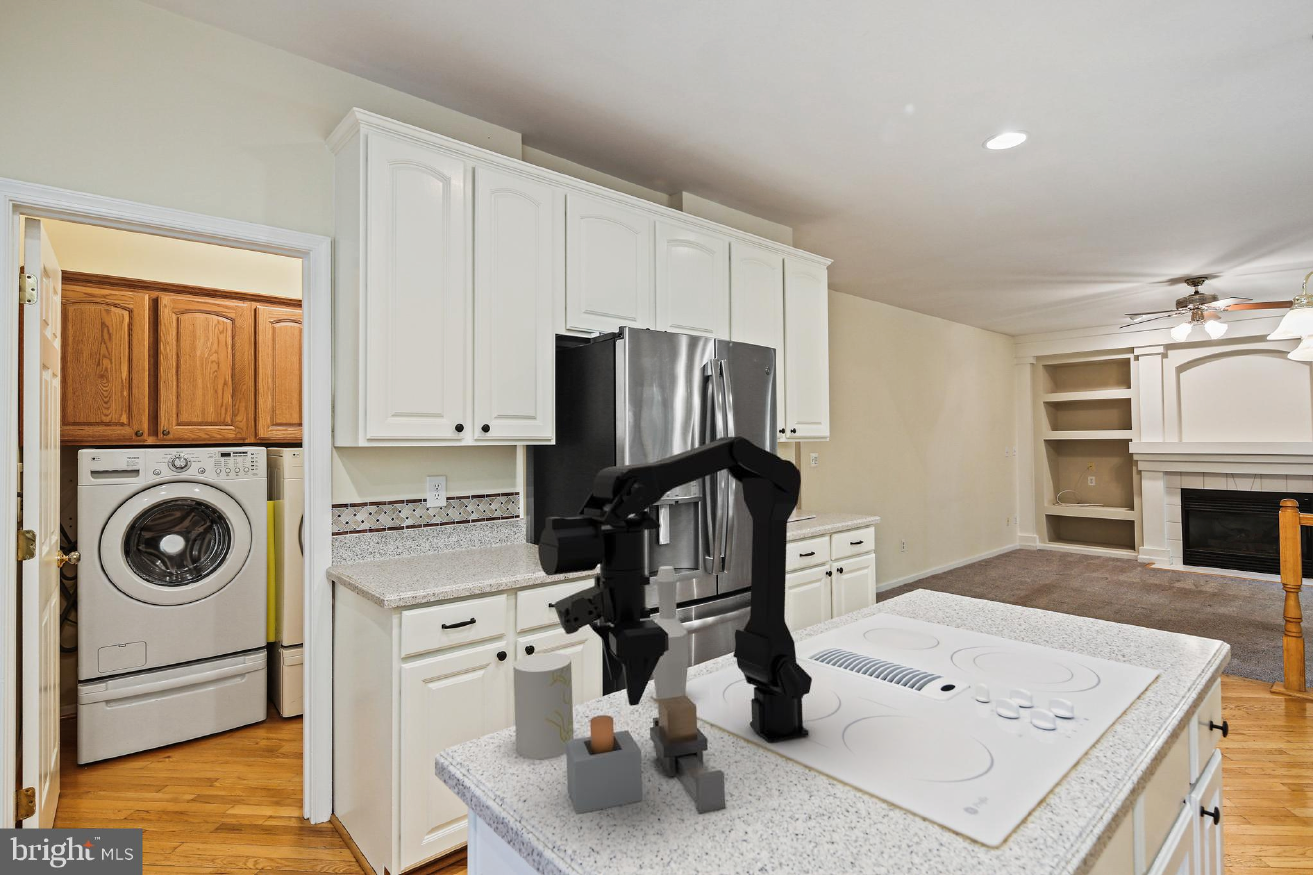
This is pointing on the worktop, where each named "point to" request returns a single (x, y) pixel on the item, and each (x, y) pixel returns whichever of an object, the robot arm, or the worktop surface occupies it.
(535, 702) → the cup
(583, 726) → the worktop surface
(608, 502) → the robot arm
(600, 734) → the button
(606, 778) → the grey hollow block
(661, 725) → the carriage
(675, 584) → the low poly bottle
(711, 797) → the rail
